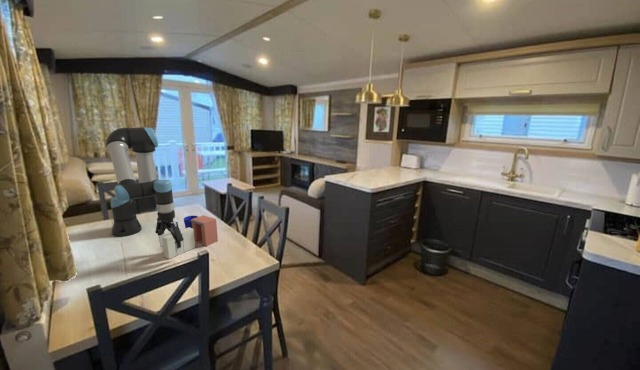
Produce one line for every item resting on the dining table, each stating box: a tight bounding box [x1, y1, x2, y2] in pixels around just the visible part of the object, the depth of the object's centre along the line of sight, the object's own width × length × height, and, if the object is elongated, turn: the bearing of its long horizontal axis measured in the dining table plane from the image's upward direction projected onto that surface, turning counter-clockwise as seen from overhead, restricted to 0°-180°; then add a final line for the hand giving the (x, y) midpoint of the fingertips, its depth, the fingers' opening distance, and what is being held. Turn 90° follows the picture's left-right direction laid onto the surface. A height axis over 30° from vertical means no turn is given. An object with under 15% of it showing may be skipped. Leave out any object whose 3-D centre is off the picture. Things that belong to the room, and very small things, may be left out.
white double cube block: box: [162, 227, 196, 260], centre depth 147 cm, size 4×15×11 cm, turn 150°
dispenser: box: [190, 214, 219, 247], centre depth 160 cm, size 11×9×14 cm
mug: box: [183, 215, 199, 229], centre depth 171 cm, size 8×12×10 cm
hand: (170, 249), depth 143 cm, fingers open, 13 cm apart
